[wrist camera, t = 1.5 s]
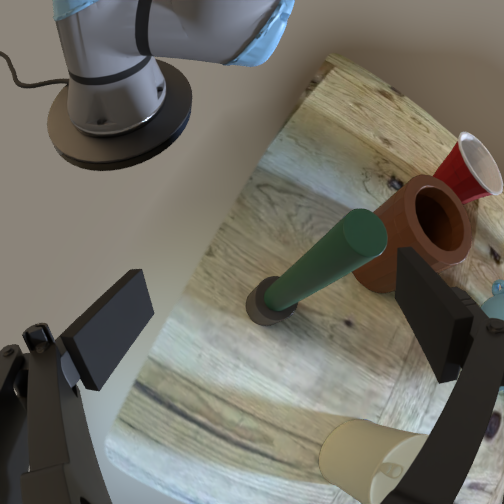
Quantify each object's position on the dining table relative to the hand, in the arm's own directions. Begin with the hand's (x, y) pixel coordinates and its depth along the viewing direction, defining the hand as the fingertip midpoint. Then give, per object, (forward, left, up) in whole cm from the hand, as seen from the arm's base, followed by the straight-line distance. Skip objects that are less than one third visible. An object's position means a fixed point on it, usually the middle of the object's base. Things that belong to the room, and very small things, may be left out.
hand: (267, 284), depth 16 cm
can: (+22, 0, -20) cm, 30 cm away
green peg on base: (+1, +5, -20) cm, 20 cm away
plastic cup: (+9, +40, -20) cm, 45 cm away
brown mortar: (+7, +21, -20) cm, 30 cm away
